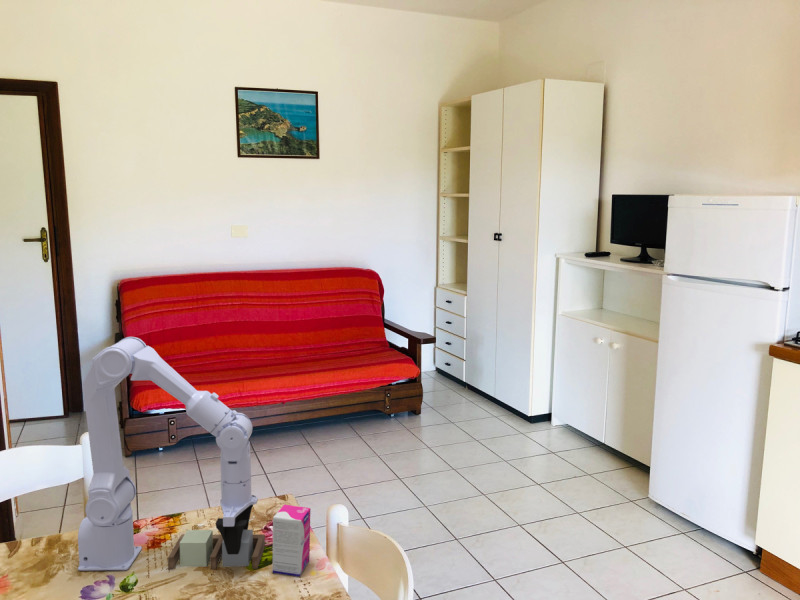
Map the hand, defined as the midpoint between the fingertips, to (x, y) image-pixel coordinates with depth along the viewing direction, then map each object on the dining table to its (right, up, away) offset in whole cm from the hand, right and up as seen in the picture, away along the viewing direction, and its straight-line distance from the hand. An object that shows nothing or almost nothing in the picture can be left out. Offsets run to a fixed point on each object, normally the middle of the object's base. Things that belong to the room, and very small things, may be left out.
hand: (237, 543), depth 127 cm
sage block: (-8, -3, 0) cm, 9 cm away
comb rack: (-4, -3, 0) cm, 5 cm away
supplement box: (+11, -4, -2) cm, 12 cm away
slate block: (0, -4, +1) cm, 3 cm away
